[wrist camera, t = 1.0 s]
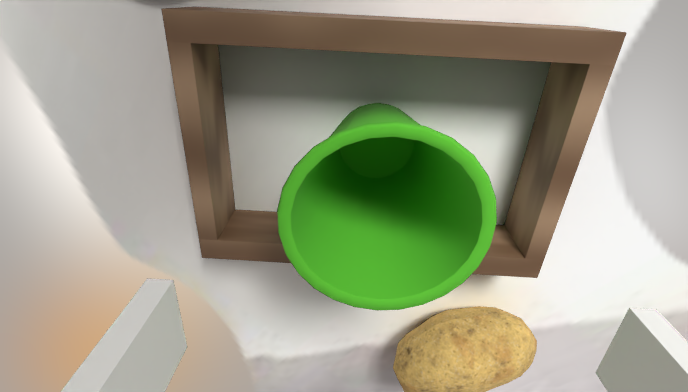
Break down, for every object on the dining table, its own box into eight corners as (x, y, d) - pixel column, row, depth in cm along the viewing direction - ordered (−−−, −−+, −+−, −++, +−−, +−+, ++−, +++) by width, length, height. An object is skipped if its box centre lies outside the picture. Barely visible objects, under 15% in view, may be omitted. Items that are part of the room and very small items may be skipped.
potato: (379, 308, 32) (383, 372, 27) (513, 276, 30) (547, 339, 25) (400, 359, 35) (408, 427, 30) (524, 334, 33) (556, 402, 28)
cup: (344, 217, 28) (336, 333, 18) (284, 107, 24) (233, 181, 15) (462, 171, 26) (522, 275, 16) (415, 43, 22) (457, 80, 13)
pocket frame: (193, 6, 22) (161, 8, 18) (582, 26, 22) (626, 32, 18) (221, 225, 29) (202, 257, 25) (515, 243, 29) (537, 277, 25)
